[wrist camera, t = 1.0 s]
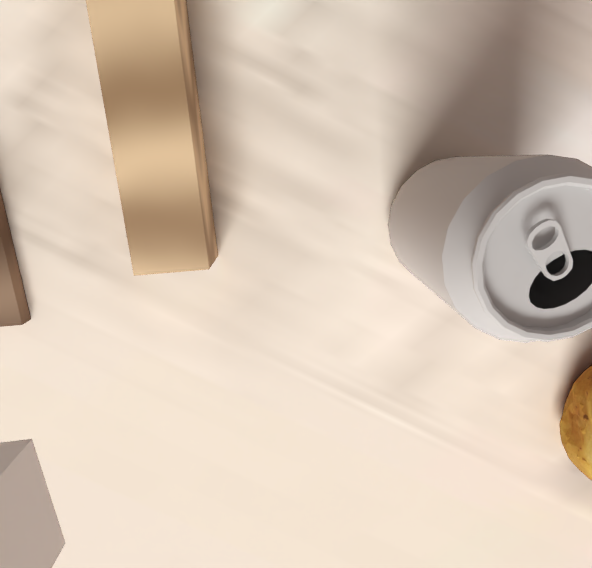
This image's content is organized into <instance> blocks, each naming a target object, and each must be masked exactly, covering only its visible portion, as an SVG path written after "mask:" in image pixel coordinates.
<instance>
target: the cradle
mask: <svg viewBox="0 0 592 568" xmlns="http://www.w3.org/2000/svg"><path fill="white" fill-rule="evenodd" d="M30 319H31V318H30V313H29V309H28V305H27V301H26V296H25V292H24V288H23V284H22V280H21V275H20V271H19V267H18V263H17V258H16V254H15V250H14V246H13V242H12V237H11V233H10V229H9V225H8V220H7V216H6V212H5V208H4V204H3V199H2V195H1V191H0V326H12V325H23V324H24V323H26V322H27V321H29V320H30Z"/></svg>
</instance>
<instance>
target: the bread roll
mask: <svg viewBox="0 0 592 568" xmlns="http://www.w3.org/2000/svg"><path fill="white" fill-rule="evenodd" d="M560 435H561V441H562V444H563V446H564V448H565V450H566V453H567V455H568V457H569V459H570V460H571V461H572V463H573V464H574V465H575V466H576V467H577V468H578V469H579V470H580V471H581V472H582V473H584V474H585V475H586V476H587V477H588V478H589V479H591V480H592V365H591V366H590V367H589V368H588V369H586V370H585V371H584V372H583V373H582V374H581V375H580V377H579V378H578V379H577V380H576V381H575V382H574V383H573V386H572V389H571V390H570V393H569V396H568V397H567V400H566V403H565V406H564V410H563V415H562V418H561V420H560Z"/></svg>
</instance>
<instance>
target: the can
mask: <svg viewBox="0 0 592 568" xmlns="http://www.w3.org/2000/svg"><path fill="white" fill-rule="evenodd" d="M388 228H389V236H390V244H391V246H392V248H393V250H394V252H395V254H396V256H397V258H398V260H399V262H400V263H401V264H402V265H403V266H404V267H405V268H406V269H407V270H408V271H409V272H410V273H411V274H413V275H414V276H415V277H416V278H417V279H418V280H420V281H421V282H422V283H423V284H424V285H425V286H427V287H428V288H429V289H430V290H431V291H432V292H433V293H435V294H436V295H437V296H438V297H439V298H440V299H442V300H443V301H444V302H445V303H446V304H447V305H449V306H450V307H451V308H452V309H453V310H454V311H456V312H457V313H458V314H459V315H460V316H461V317H463V318H464V319H465V320H466V321H467V322H468V323H470V324H471V325H472V326H473V327H474V328H476V329H478V330H480V331H482V332H484V333H486V334H488V335H491V336H493V337H495V338H497V339H499V340H507V341H516V342H524V343H528V342H533V341H546V342H549V341H554V340H560V339H565V338H571V337H574V336H576V335H578V334H580V333H582V332H584V331H586V330H589V329H591V328H592V167H591V166H589V165H587V164H586V163H584V162H582V161H580V160H578V159H574V158H567V157H560V156H553V155H511V156H469V157H452V158H447V159H441V160H436V161H434V162H432V163H430V164H428V165H426V166H424V167H422V168H421V169H419V170H417V171H416V172H415V173H414V174H413V175H412V176H411V177H410V178H409V179H408V180H407V181H406V182H405V183H404V184H403V185H402V186H401V188H400V190H399V192H398V194H397V195H396V197H395V199H394V201H393V203H392V206H391V211H390V217H389V222H388Z"/></svg>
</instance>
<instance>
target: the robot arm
mask: <svg viewBox="0 0 592 568" xmlns="http://www.w3.org/2000/svg"><path fill="white" fill-rule="evenodd" d="M64 544H65V540H64V537H63V534H62V531H61V528H60V525H59V522H58V519H57V516H56V513H55V509H54V506H53V503H52V500H51V497H50V494H49V491H48V488H47V485H46V481H45V478H44V475H43V472H42V469H41V466H40V463H39V460H38V457H37V453H36V450H35V447H34V444H33V441H32V439H28V440H19V441H11V442H3V443H0V568H52V566H53V564H54V563H55V561H56V559H57V557H58V555H59V554H60V552H61V550H62V548H63V546H64Z"/></svg>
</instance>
